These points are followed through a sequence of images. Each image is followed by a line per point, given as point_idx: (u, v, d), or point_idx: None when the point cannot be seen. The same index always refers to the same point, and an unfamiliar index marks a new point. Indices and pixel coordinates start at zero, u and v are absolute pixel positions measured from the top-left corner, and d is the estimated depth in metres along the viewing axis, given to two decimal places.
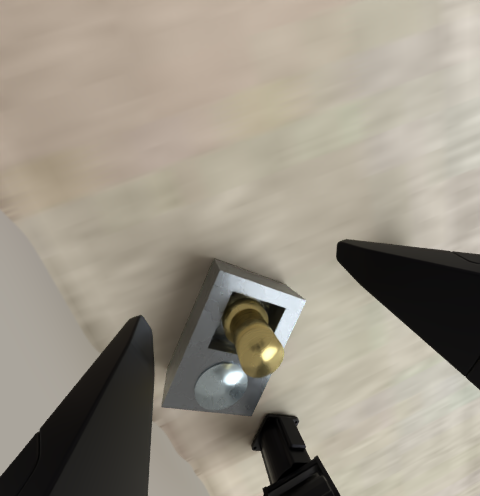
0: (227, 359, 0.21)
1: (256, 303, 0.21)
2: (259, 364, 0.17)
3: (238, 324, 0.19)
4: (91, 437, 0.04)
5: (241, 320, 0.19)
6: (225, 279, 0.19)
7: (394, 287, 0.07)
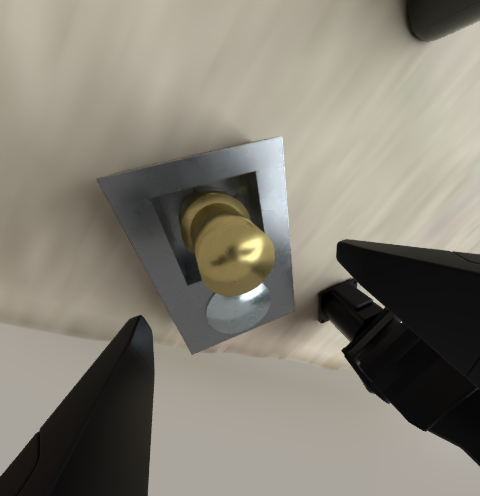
0: None
1: (209, 194, 0.13)
2: (242, 274, 0.10)
3: (192, 239, 0.12)
4: (91, 437, 0.04)
5: (193, 231, 0.12)
6: (120, 188, 0.10)
7: (394, 287, 0.07)
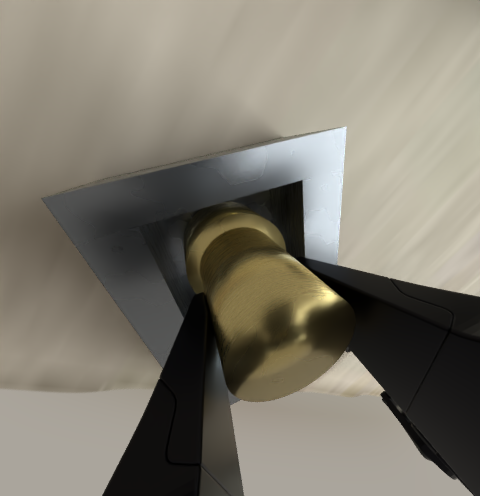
0: None
1: (229, 214, 0.09)
2: (297, 367, 0.06)
3: (205, 289, 0.07)
4: (208, 383, 0.04)
5: (207, 276, 0.07)
6: (87, 212, 0.06)
7: None
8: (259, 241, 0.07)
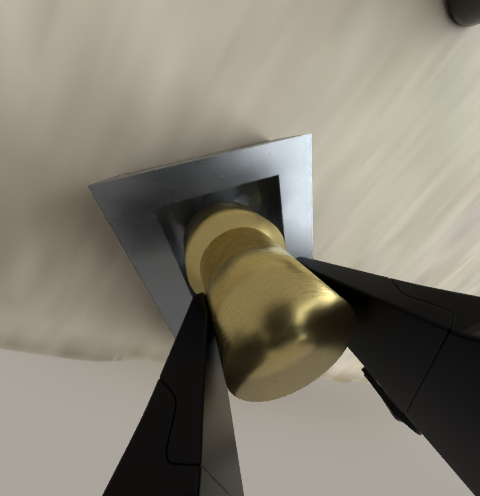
0: None
1: (229, 214, 0.09)
2: (297, 367, 0.06)
3: (205, 289, 0.07)
4: (208, 383, 0.04)
5: (207, 276, 0.07)
6: (118, 196, 0.09)
7: None
8: (259, 241, 0.07)
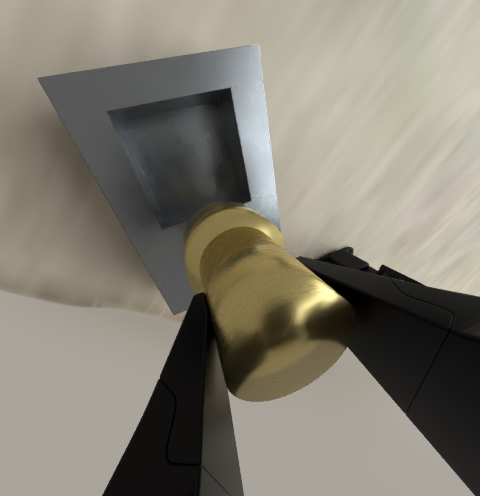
0: None
1: (229, 213, 0.09)
2: (297, 367, 0.06)
3: (205, 289, 0.07)
4: (208, 383, 0.04)
5: (206, 275, 0.07)
6: (69, 93, 0.09)
7: None
8: (259, 240, 0.07)
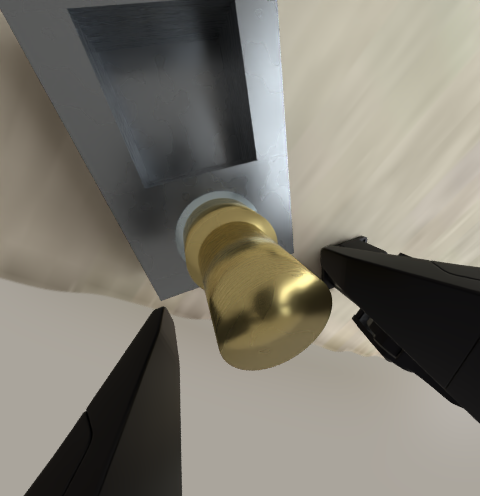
0: (196, 190, 0.11)
1: (225, 209, 0.09)
2: (282, 340, 0.06)
3: (203, 276, 0.08)
4: (136, 416, 0.04)
5: (204, 264, 0.08)
6: None
7: (375, 296, 0.07)
8: (251, 233, 0.08)
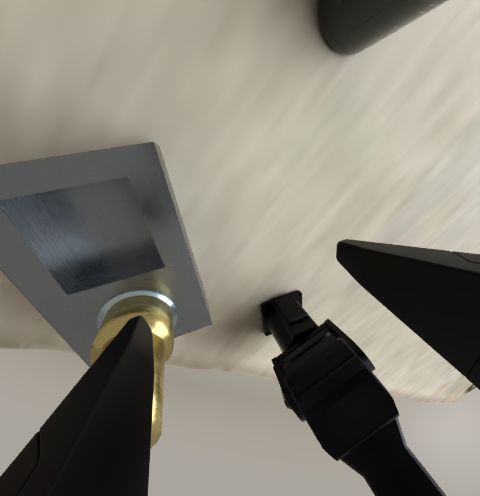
0: (113, 291, 0.14)
1: (121, 322, 0.12)
2: None
3: None
4: (91, 437, 0.04)
5: None
6: None
7: (394, 287, 0.07)
8: None
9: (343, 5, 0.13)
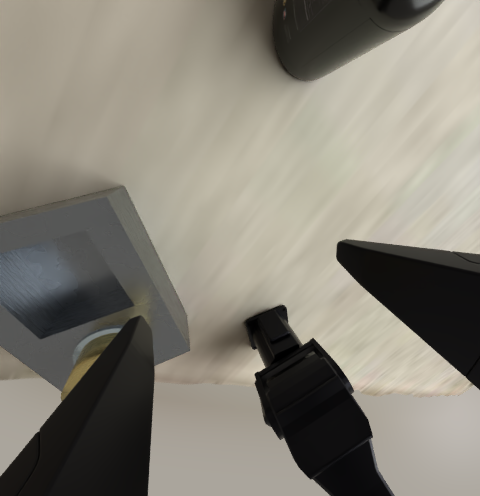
0: (86, 332, 0.15)
1: (89, 366, 0.13)
2: None
3: None
4: (91, 437, 0.04)
5: None
6: None
7: (394, 287, 0.07)
8: None
9: (294, 40, 0.13)
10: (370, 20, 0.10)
